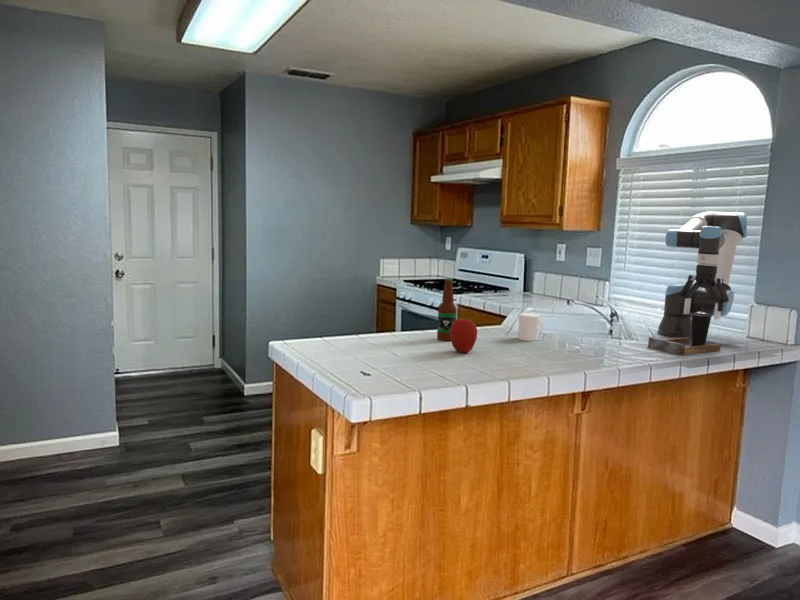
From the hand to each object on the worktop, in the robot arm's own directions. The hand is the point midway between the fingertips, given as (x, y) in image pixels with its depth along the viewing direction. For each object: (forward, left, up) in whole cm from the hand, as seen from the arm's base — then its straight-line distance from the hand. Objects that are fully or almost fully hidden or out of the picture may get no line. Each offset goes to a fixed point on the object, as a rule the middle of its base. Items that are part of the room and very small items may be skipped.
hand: (701, 316), depth 243 cm
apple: (-26, -99, -13) cm, 103 cm away
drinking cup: (0, 0, -13) cm, 13 cm away
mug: (-37, -57, -13) cm, 69 cm away
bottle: (-47, -93, -13) cm, 105 cm away
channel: (0, -9, -13) cm, 16 cm away
